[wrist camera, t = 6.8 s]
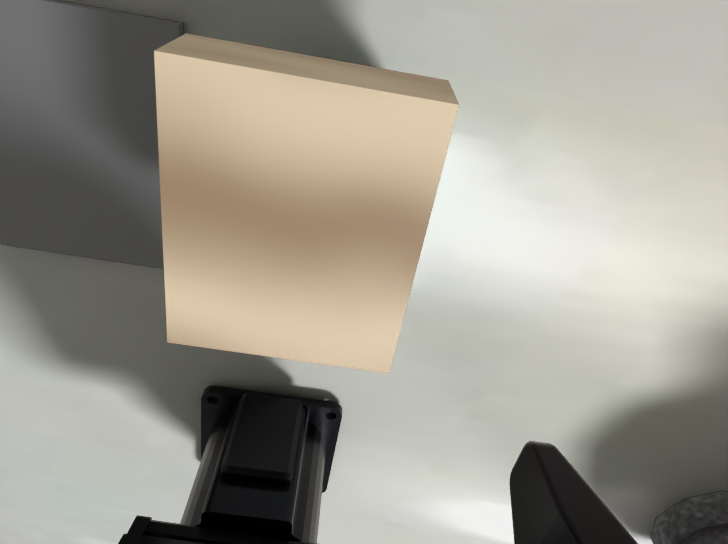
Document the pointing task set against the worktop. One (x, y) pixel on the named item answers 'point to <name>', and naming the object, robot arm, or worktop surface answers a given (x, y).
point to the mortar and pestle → (694, 521)
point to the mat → (80, 130)
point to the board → (293, 198)
